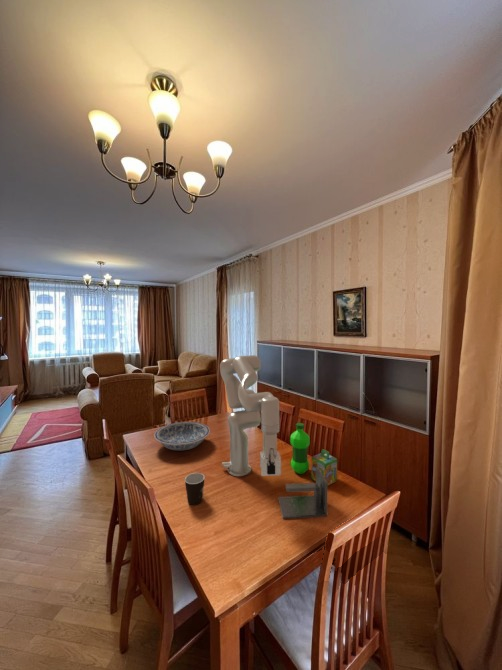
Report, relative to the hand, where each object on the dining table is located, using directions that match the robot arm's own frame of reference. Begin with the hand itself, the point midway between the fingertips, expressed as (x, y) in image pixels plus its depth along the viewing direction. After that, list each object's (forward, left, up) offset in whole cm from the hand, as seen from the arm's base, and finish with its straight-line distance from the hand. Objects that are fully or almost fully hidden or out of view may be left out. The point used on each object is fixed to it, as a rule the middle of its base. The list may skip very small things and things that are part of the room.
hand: (270, 468), depth 112 cm
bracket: (+13, 0, -17) cm, 22 cm away
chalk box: (+29, +19, -18) cm, 39 cm away
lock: (0, 0, -1) cm, 1 cm away
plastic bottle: (+19, +28, -18) cm, 38 cm away
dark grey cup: (-32, +9, -18) cm, 37 cm away
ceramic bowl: (-49, +62, -18) cm, 81 cm away
